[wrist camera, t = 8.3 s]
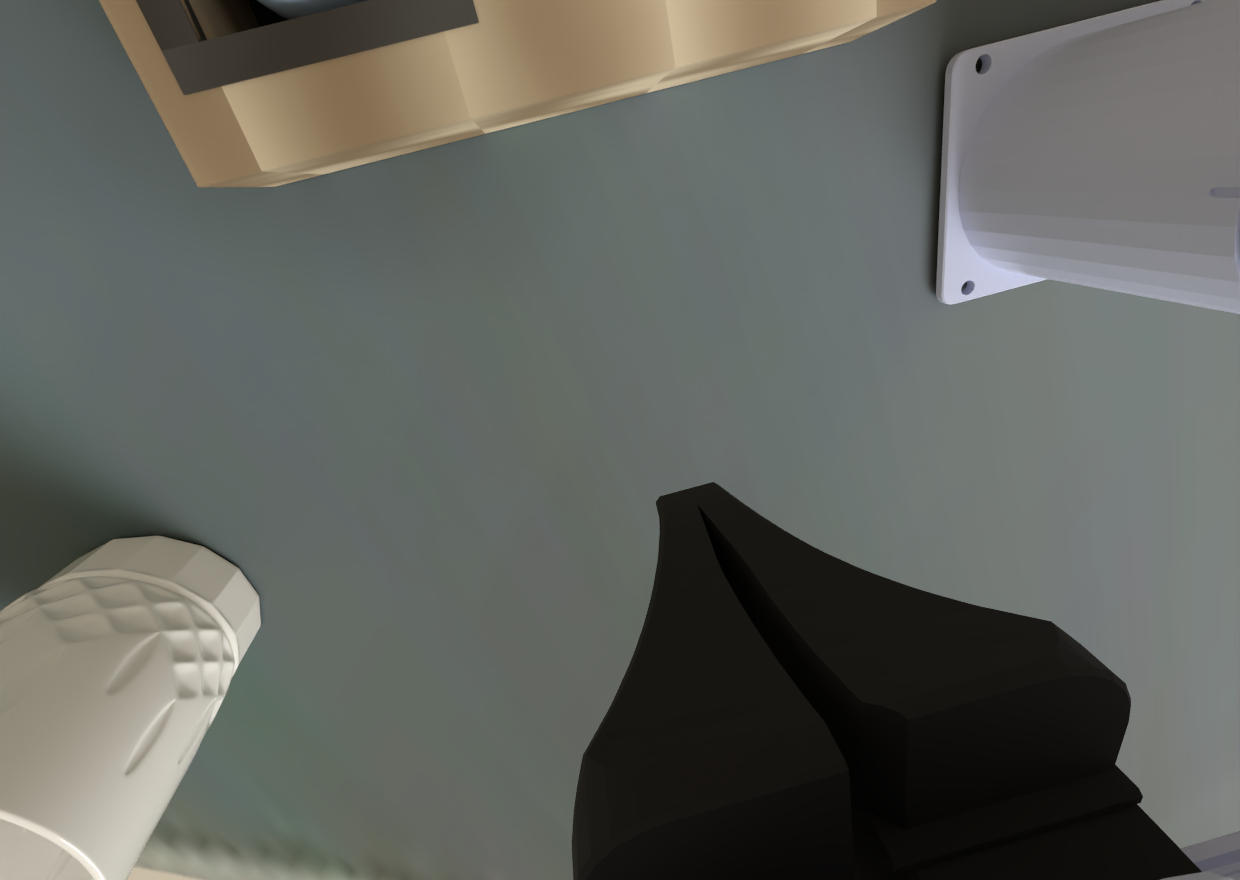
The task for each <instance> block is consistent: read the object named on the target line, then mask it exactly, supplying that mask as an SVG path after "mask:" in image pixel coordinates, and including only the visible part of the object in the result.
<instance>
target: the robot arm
mask: <svg viewBox="0 0 1240 880" xmlns="http://www.w3.org/2000/svg"><path fill="white" fill-rule="evenodd" d="M979 58H980V59H981V60H982V68H981V71H980V72H979V73H977V72H976V67H975V66H976V62H977V60H978V59H979ZM1046 279H1051V280H1057V281H1062V282H1067V283H1073V284H1078V285H1084V286H1089V287H1095V288H1100V289H1106V290H1111V291H1117V292H1122V293H1128V294H1133V295H1139V296H1144V297H1150V298H1155V299H1160V300H1166V301H1171V302H1177V303H1182V304H1188V305H1193V306H1199V307H1204V308H1210V309H1215V310H1221V311H1226V312H1232V313H1237V314H1240V0H1161V1H1157V2H1153V3H1149V4H1145V5H1141V6H1138V7H1134V8H1130V9H1126V10H1122V11H1118V12H1114V13H1110V14H1106V15H1102V16H1098V17H1094V18H1090V19H1086V20H1082V21H1078V22H1074V23H1070V24H1067V25H1063V26H1059V27H1055V28H1051V29H1047V30H1043V31H1039V32H1035V33H1031V34H1027V35H1023V36H1019V37H1015V38H1011V39H1007V40H1003V41H999V42H996V43H992V44H988V45H984V46H980V47H976V48H972V49H968V50H965V51H962V52H960V53H958V54H956V55H955V56H954V57H953V58H952V59H951V60H950V62H949V64H948V66H947V69H946V74H945V95H944V118H943V141H942V165H941V188H940V211H939V234H938V258H937V281H936V296H937V299H938V300H939V301H940V302H942V303H945V304H956V303H960V302H963V301H967V300H971V299H975V298H979V297H982V296H986V295H990V294H994V293H997V292H1001V291H1005V290H1009V289H1012V288H1016V287H1020V286H1024V285H1027V284H1031V283H1035V282H1039V281H1043V280H1046ZM965 282H967V286H966V289H965V290H964V291H963V292H961V288H962V285H963V284H964V283H965ZM656 506H657V510H658V514H659V520H660V539H659V553H658V562H657V568H656V574H655V580H654V586H653V591H652V596H651V600H650V604H649V608H648V612H647V615H646V619H645V622H644V626H643V629H642V632H641V635H640V637H639V640H638V643H637V646H636V649H635V652H634V655H633V657H632V660H631V662H630V665H629V667H628V669H627V671H626V674H625V676H624V678H623V680H622V682H621V685H620V687H619V689H618V691H617V694H616V696H615V698H614V700H613V702H612V704H611V706H610V708H609V710H608V712H607V714H606V716H605V717H604V719H603V721H602V723H601V724H600V726H599V728H598V730H597V732H596V733H595V735H594V737H593V739H592V740H591V742H590V744H589V746H588V747H587V749H586V751H585V753H584V755H583V758H582V763H581V769H580V774H579V780H578V785H577V792H576V799H575V807H574V817H573V834H572V859H573V878H574V880H1240V831H1239V832H1235V833H1232V834H1228V835H1225V836H1222V837H1218V838H1215V839H1211V840H1208V841H1205V842H1201V843H1198V844H1195V845H1191V846H1188V847H1184V848H1181V849H1180V848H1179V847H1178V846H1177V845H1176V844H1175V843H1174V842H1173V841H1172V840H1171V839H1170V838H1169V837H1168V836H1167V835H1166V834H1165V833H1164V832H1163V831H1162V830H1161V829H1160V828H1159V826H1158V825H1157V824H1156V823H1155V822H1154V821H1153V820H1152V819H1151V818H1150V817H1149V816H1148V815H1147V814H1146V813H1145V812H1144V811H1143V810H1142V809H1141V808H1140V807H1139V806H1138V805H1137V804H1138V803H1141V800H1142V798H1143V796H1142V794H1141V792H1140V790H1139V788H1138V787H1137V786H1136V785H1135V784H1134V783H1133V782H1132V781H1131V780H1130V779H1129V778H1128V777H1127V776H1126V775H1125V774H1124V773H1123V772H1122V771H1121V770H1120V769H1119V768H1118V767H1117V766H1116V765H1115V763H1116V759H1117V756H1118V753H1119V750H1120V747H1121V744H1122V741H1123V738H1124V735H1125V731H1126V728H1127V725H1128V722H1129V715H1130V707H1131V698H1130V695H1129V692H1128V689H1127V686H1126V684H1125V683H1124V682H1123V681H1122V680H1121V679H1120V678H1118V677H1117V676H1116V675H1115V674H1114V673H1113V672H1112V671H1111V670H1109V669H1108V668H1107V667H1106V666H1105V665H1104V664H1103V663H1101V662H1100V661H1099V660H1098V659H1097V658H1096V657H1095V656H1093V655H1092V654H1091V653H1090V652H1089V651H1088V650H1087V649H1086V648H1084V647H1083V646H1082V645H1081V644H1080V643H1078V642H1077V641H1076V640H1074V639H1073V638H1072V637H1071V636H1069V635H1068V634H1067V633H1065V632H1064V631H1063V630H1061V629H1060V628H1059V627H1057V626H1056V625H1055V624H1053V623H1052V622H1051V621H1046V620H1041V619H1036V618H1032V617H1027V616H1022V615H1018V614H1013V613H1008V612H1004V611H999V610H994V609H989V608H985V607H980V606H976V605H972V604H968V603H965V602H961V601H957V600H954V599H950V598H946V597H943V596H939V595H935V594H932V593H929V592H926V591H922V590H919V589H916V588H913V587H910V586H906V585H904V584H901V583H898V582H895V581H892V580H890V579H887V578H884V577H881V576H879V575H876V574H873V573H870V572H868V571H865V570H863V569H860V568H858V567H856V566H853V565H851V564H849V563H847V562H844V561H842V560H840V559H838V558H835V557H833V556H831V555H829V554H827V553H824V552H822V551H820V550H818V549H816V548H814V547H812V546H811V545H809V544H807V543H805V542H803V541H802V540H800V539H798V538H796V537H794V536H793V535H791V534H789V533H788V532H786V531H784V530H783V529H781V528H779V527H778V526H776V525H775V524H773V523H772V522H770V521H769V520H767V519H765V518H764V517H762V516H761V515H759V514H758V513H756V512H755V511H753V510H752V509H751V508H749V507H748V506H746V505H745V504H743V503H742V502H741V501H739V500H738V499H737V498H735V497H734V496H732V495H731V494H730V493H728V492H727V491H726V490H724V489H723V488H722V487H720V486H719V485H718V484H716V483H714V482H712V483H708V484H704V485H701V486H697V487H693V488H690V489H686V490H682V491H679V492H675V493H671V494H668V495H664V496H660V497H659V498H658V500H657V501H656Z"/></svg>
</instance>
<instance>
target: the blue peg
mask: <svg viewBox="0 0 1240 880" xmlns="http://www.w3.org/2000/svg"><path fill="white" fill-rule="evenodd" d="M257 1H258V2H260V3H261V4H263V5H264V6H266V7H267V8H269V9H270V10H272V11H273V12H275V13H276V14H278V15H279V16H281V17H283V18H284V19H286V20H291V19H295V18H299V17H303V16H307V15H311V14H315V13H319V12H324V11H328V10H332V9H336V8H340V7H344V6H348V5H352V4H356V3H360V2H365V1H369V0H257Z"/></svg>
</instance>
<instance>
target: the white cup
mask: <svg viewBox="0 0 1240 880" xmlns="http://www.w3.org/2000/svg"><path fill="white" fill-rule="evenodd" d="M260 626H261V618H260V604H259V595H258V594H257V593H256V591H255V590H254V588H253V587H252V586H251V584H250V583H249V581H248V580H247V579H246V577H245V576H244V575H243V573H242V572H241V570H240V569H239V568H238V567H236V566H235V565H233V564H232V563H230V562H228V561H227V560H225V559H223V558H222V557H220V556H218V555H217V554H215V553H214V552H212V551H210V550H209V549H207V548H205V547H203V546H200V545H196V544H192V543H188V542H184V541H180V540H176V539H172V538H167V537H163V536H146V537H133V538H121V539H113V540H111V541H109V542H107V543H105V544H104V545H102V546H100V547H98V548H96V549H94V550H92V551H91V552H89V553H87V554H85V555H83V556H81V557H79V558H78V559H76V560H75V561H74V562H72V563H71V564H70V565H68V566H67V567H66V568H64V569H63V570H62V571H60V572H59V573H58V574H56V575H55V576H54V577H52V578H51V579H50V580H48V581H47V582H46V583H44V584H43V585H42V586H40V587H39V588H38V589H35V590H32V591H30V592H28V593H26V594H24V595H23V596H21V597H20V598H18V599H17V600H15V601H14V602H12V603H11V604H9V605H8V606H7V607H5V608H4V609H3V610H1V611H0V880H127V878H128V877H129V875H130V873H131V871H132V869H133V867H134V866H135V864H136V862H137V860H138V858H139V856H140V855H141V853H142V851H143V849H144V847H145V845H146V844H147V842H148V840H149V838H150V836H151V835H152V833H153V831H154V829H155V827H156V825H157V824H158V822H159V820H160V818H161V816H162V815H163V813H164V811H165V809H166V807H167V805H168V804H169V802H170V800H171V798H172V796H173V795H174V793H175V791H176V789H177V787H178V786H179V784H180V782H181V780H182V778H183V777H184V775H185V773H186V771H187V770H188V768H189V766H190V764H191V762H192V760H193V758H194V756H195V754H196V752H197V750H198V748H199V746H200V743H201V741H202V739H203V737H204V735H205V733H206V732H207V731H208V729H209V727H210V725H211V723H212V721H213V719H214V718H215V716H216V714H217V712H218V710H219V708H220V705H221V703H222V701H223V699H224V697H225V695H226V694H227V692H228V688H229V684H230V681H231V678H232V677H233V675H234V673H235V671H236V669H237V667H238V665H239V663H240V661H241V660H242V658H243V656H244V654H245V653H246V651H247V649H248V647H249V646H250V644H251V642H252V640H253V639H254V637H255V635H256V633H257V632H258V630H259V628H260Z"/></svg>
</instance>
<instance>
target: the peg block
mask: <svg viewBox="0 0 1240 880" xmlns="http://www.w3.org/2000/svg"><path fill="white" fill-rule="evenodd" d="M99 2H100V3H101V5H102V7H103V9H104V11H105V13H106V15H107V17H108V19H109V20H110V22H111V24H112V26H113V28H114V30H115V32H116V34H117V35H118V37H119V39H120V41H121V43H122V45H123V47H124V49H125V50H126V52H127V54H128V56H129V58H130V60H131V62H132V64H133V66H134V67H135V69H136V71H137V73H138V75H139V77H140V79H141V81H142V82H143V84H144V86H145V88H146V90H147V92H148V94H149V96H150V98H151V99H152V101H153V103H154V105H155V107H156V109H157V111H158V113H159V114H160V116H161V118H162V120H163V122H164V124H165V126H166V128H167V130H168V131H169V133H170V135H171V137H172V139H173V141H174V143H175V145H176V146H177V148H178V150H179V152H180V154H181V156H182V158H183V160H184V162H185V163H186V165H187V167H188V169H189V171H190V173H191V175H192V177H193V178H194V180H195V182H196V184H197V186H198V187H276V186H280V185H284V184H288V183H292V182H296V181H300V180H304V179H308V178H312V177H316V176H320V175H324V174H328V173H332V172H336V171H339V170H343V169H347V168H351V167H355V166H359V165H363V164H367V163H371V162H375V161H379V160H383V159H387V158H391V157H395V156H399V155H403V154H407V153H411V152H415V151H419V150H423V149H427V148H431V147H435V146H439V145H443V144H447V143H451V142H455V141H459V140H463V139H467V138H471V137H475V136H478V135H482V134H486V133H490V132H494V131H498V130H502V129H506V128H510V127H514V126H518V125H522V124H526V123H530V122H534V121H538V120H542V119H546V118H550V117H554V116H558V115H562V114H566V113H570V112H574V111H578V110H582V109H586V108H590V107H594V106H598V105H602V104H606V103H610V102H614V101H617V100H621V99H625V98H629V97H633V96H637V95H641V94H645V93H649V92H653V91H657V90H661V89H665V88H669V87H673V86H677V85H681V84H685V83H689V82H693V81H697V80H701V79H705V78H709V77H713V76H717V75H721V74H725V73H729V72H733V71H737V70H741V69H745V68H749V67H753V66H757V65H760V64H764V63H768V62H772V61H776V60H780V59H784V58H788V57H792V56H796V55H800V54H804V53H808V52H812V51H816V50H820V49H824V48H828V47H832V46H836V45H840V44H844V43H848V42H851V41H853V40H855V39H857V38H859V37H862V36H864V35H866V34H868V33H870V32H872V31H875V30H877V29H879V28H881V27H883V26H885V25H888V24H890V23H892V22H894V21H896V20H898V19H901V18H903V17H905V16H907V15H909V14H911V13H914V12H916V11H918V10H920V9H922V8H924V7H927V6H929V5H931V4H933V3H935V2H936V0H369V1H365V2H360V3H356V4H352V5H348V6H344V7H340V8H336V9H332V10H328V11H324V12H319V13H315V14H311V15H307V16H303V17H299V18H295V19H291V20H287V21H283V22H278V23H274V24H270V25H266V26H262V27H260V26H259V24H258V21H257V19H256V17H255V14H254V12H253V10H252V7H251V5H250V3H249V0H99Z"/></svg>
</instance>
